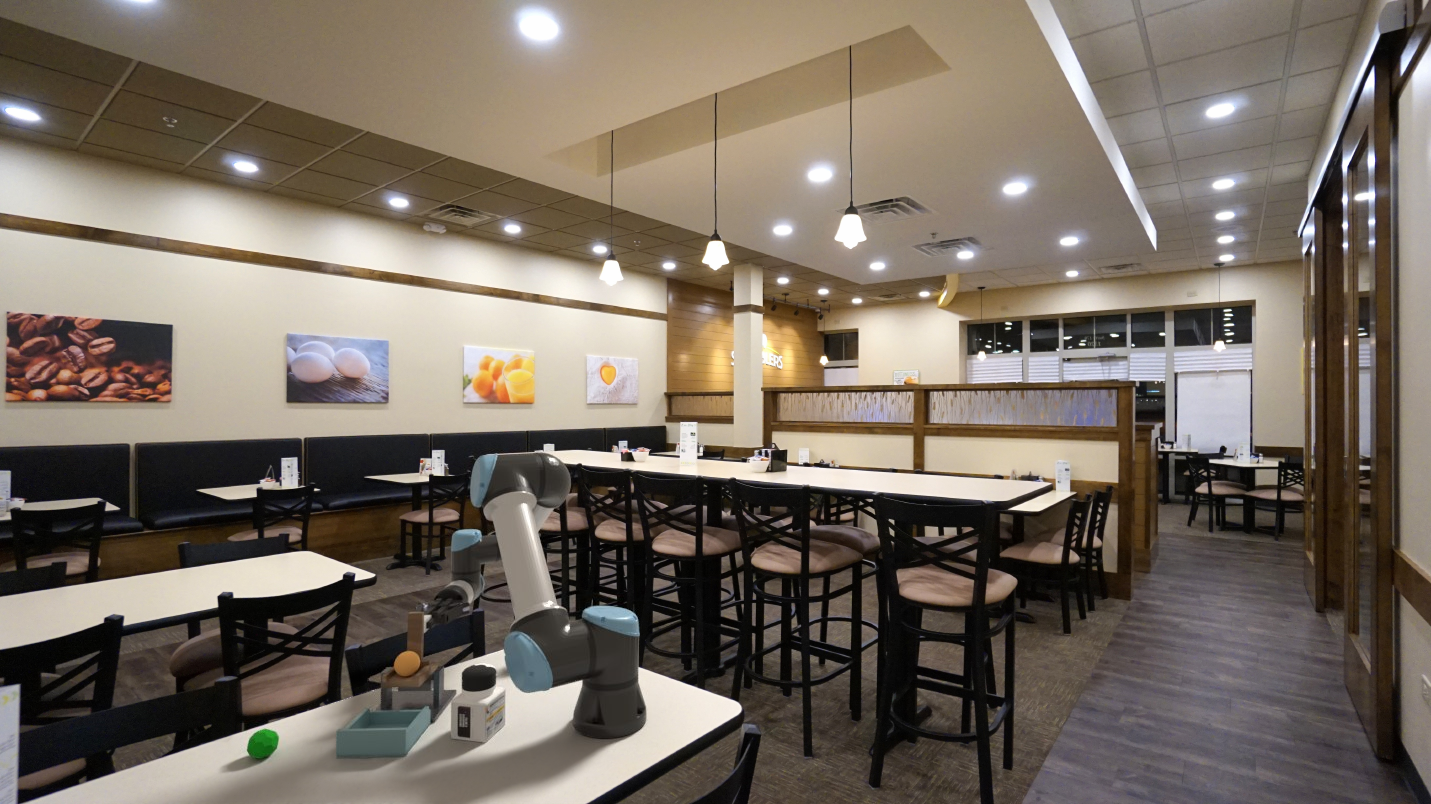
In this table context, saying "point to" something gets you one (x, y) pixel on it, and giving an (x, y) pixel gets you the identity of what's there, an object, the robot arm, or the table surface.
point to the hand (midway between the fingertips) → (417, 630)
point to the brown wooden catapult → (425, 672)
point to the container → (478, 705)
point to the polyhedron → (262, 743)
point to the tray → (382, 733)
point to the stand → (418, 697)
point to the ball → (407, 663)
